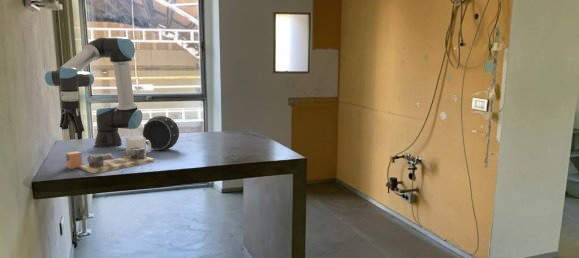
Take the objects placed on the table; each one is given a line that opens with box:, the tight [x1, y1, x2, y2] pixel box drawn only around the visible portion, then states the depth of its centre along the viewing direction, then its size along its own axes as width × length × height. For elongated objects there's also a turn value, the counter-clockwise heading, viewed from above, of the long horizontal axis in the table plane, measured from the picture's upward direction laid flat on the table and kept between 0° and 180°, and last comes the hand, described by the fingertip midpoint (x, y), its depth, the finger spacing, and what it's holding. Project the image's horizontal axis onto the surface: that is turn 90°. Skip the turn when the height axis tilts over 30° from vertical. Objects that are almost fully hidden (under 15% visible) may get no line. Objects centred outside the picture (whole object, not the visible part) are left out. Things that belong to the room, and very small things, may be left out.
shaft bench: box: [78, 148, 155, 174], centre depth 217 cm, size 32×14×6 cm, turn 141°
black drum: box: [142, 115, 180, 152], centre depth 251 cm, size 11×20×20 cm, turn 78°
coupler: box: [65, 151, 83, 169], centre depth 212 cm, size 4×6×7 cm
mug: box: [125, 136, 152, 157], centre depth 236 cm, size 14×10×11 cm
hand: (72, 144), depth 211 cm, fingers open, 13 cm apart
